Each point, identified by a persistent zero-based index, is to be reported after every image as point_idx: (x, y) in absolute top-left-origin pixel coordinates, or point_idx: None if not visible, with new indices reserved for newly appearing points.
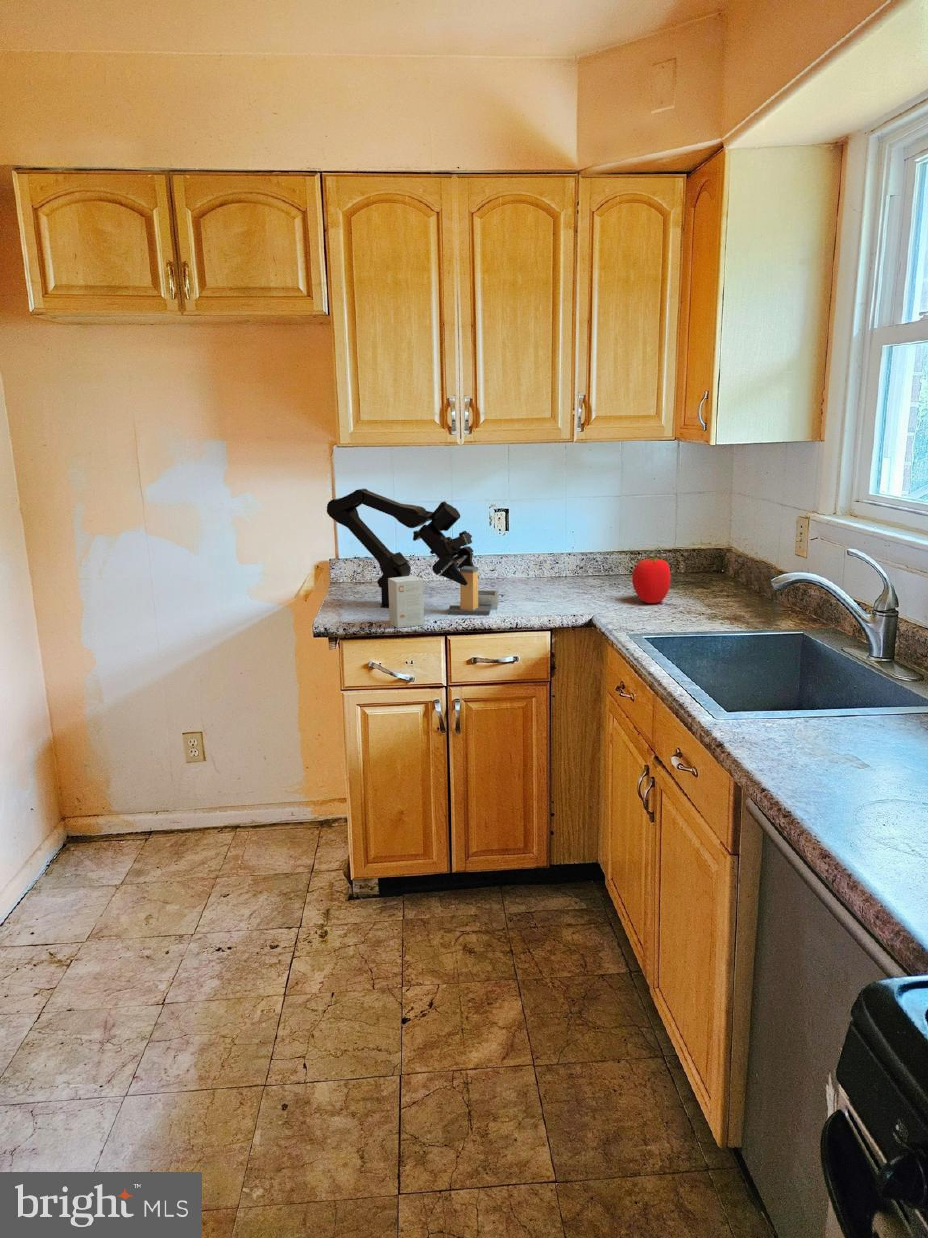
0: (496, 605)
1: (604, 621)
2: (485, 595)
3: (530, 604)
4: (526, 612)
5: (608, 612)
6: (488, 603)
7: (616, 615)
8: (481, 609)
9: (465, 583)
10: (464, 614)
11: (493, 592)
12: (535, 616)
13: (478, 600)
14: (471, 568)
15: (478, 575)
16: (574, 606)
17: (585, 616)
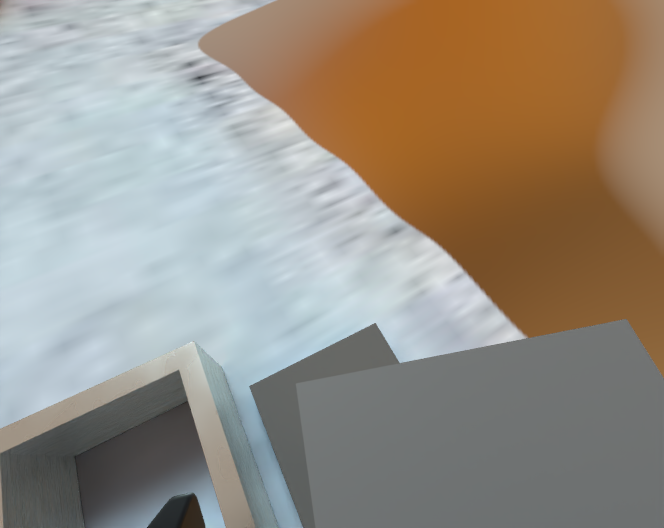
0: (216, 362)
1: (238, 11)
2: (206, 436)
3: (44, 266)
4: (224, 212)
5: (119, 29)
6: (230, 410)
7: (152, 10)
8: None
9: None
10: None
11: (11, 474)
12: (275, 159)
13: (252, 488)
14: (565, 437)
15: (158, 517)
16: (49, 116)
17: (198, 54)
